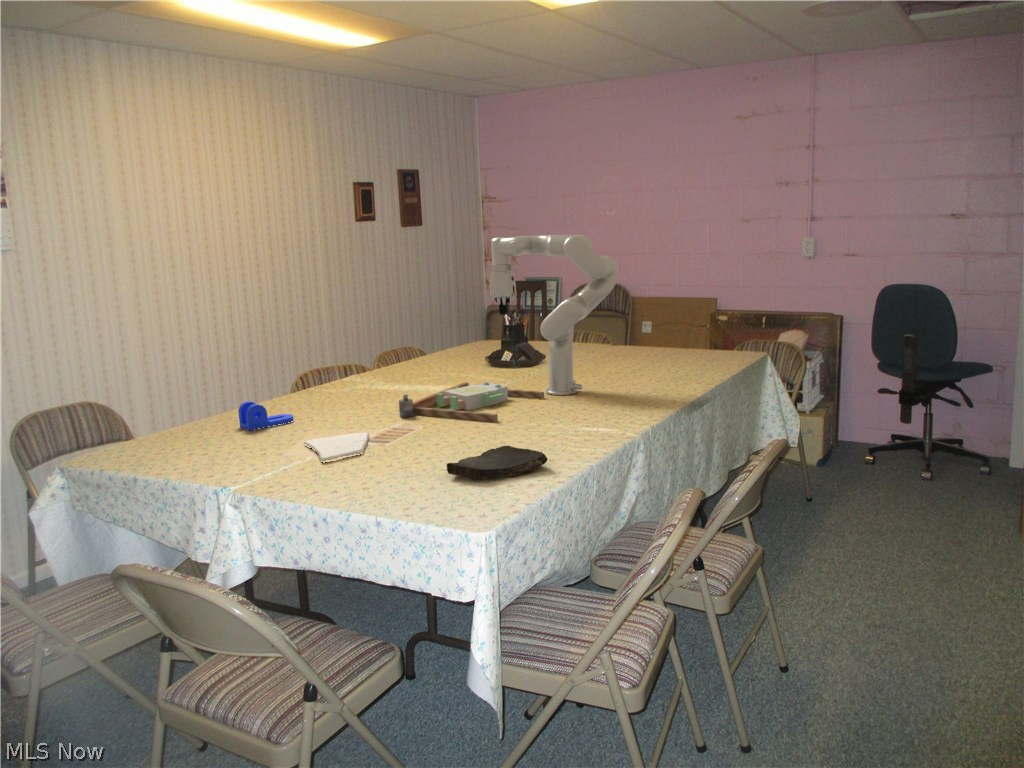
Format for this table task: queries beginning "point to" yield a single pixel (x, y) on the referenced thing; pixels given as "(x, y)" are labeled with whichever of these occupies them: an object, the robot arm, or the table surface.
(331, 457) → the flat white fragment
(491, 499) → the table surface
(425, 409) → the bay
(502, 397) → the decorative block
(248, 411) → the bracket
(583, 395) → the table surface
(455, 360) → the table surface
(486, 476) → the stone slab
